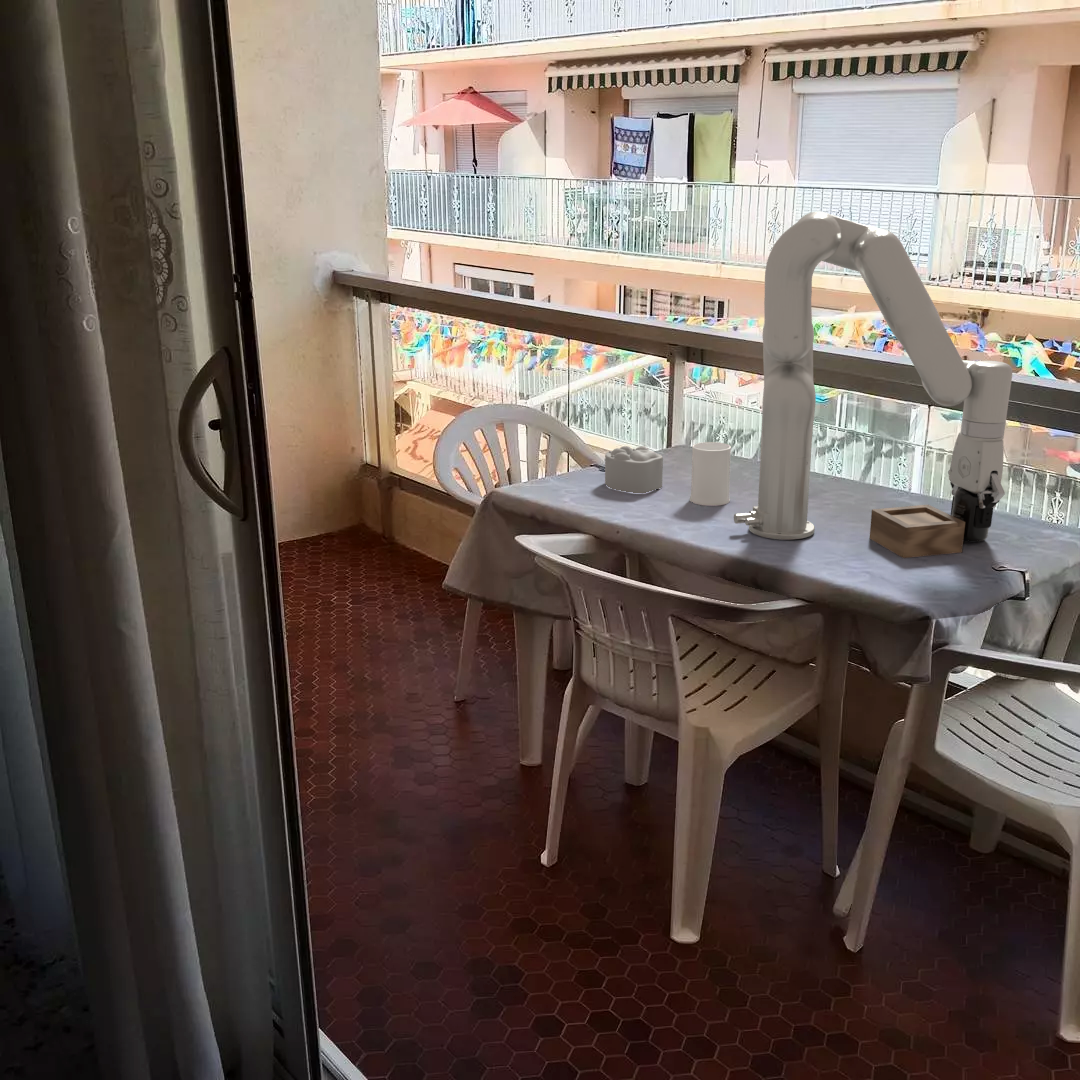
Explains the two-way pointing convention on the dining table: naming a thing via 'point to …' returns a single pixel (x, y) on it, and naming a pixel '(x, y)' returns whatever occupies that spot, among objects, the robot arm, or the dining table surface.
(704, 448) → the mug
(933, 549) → the display plinth
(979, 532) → the supplement bottle
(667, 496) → the dining table surface
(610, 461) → the lumpy-topped squat cylinder
